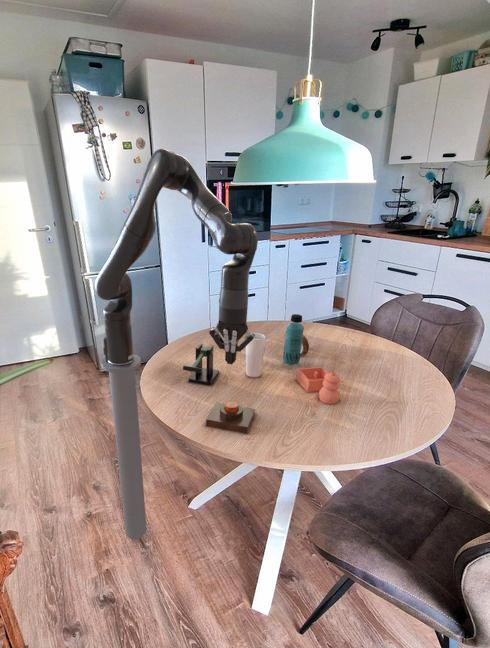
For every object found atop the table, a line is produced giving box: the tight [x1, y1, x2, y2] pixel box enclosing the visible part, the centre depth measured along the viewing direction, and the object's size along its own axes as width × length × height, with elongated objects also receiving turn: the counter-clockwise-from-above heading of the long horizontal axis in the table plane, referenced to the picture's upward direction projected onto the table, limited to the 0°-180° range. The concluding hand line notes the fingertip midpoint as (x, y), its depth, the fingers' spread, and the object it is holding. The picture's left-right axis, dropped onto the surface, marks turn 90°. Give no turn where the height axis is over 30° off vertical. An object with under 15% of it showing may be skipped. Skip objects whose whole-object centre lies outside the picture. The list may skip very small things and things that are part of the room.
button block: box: [205, 401, 256, 435], centre depth 112 cm, size 12×10×4 cm
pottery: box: [295, 366, 341, 405], centre depth 129 cm, size 18×10×10 cm, turn 14°
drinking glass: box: [245, 332, 267, 378], centre depth 137 cm, size 7×7×15 cm
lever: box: [182, 345, 210, 373], centre depth 128 cm, size 14×6×2 cm, turn 164°
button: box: [224, 400, 239, 413], centre depth 111 cm, size 4×4×2 cm
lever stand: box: [188, 343, 220, 386], centre depth 134 cm, size 10×8×12 cm
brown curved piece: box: [284, 332, 310, 356], centre depth 159 cm, size 15×3×8 cm, turn 22°
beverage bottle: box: [282, 313, 305, 366], centre depth 144 cm, size 6×7×20 cm
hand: (230, 362), depth 109 cm, fingers closed
